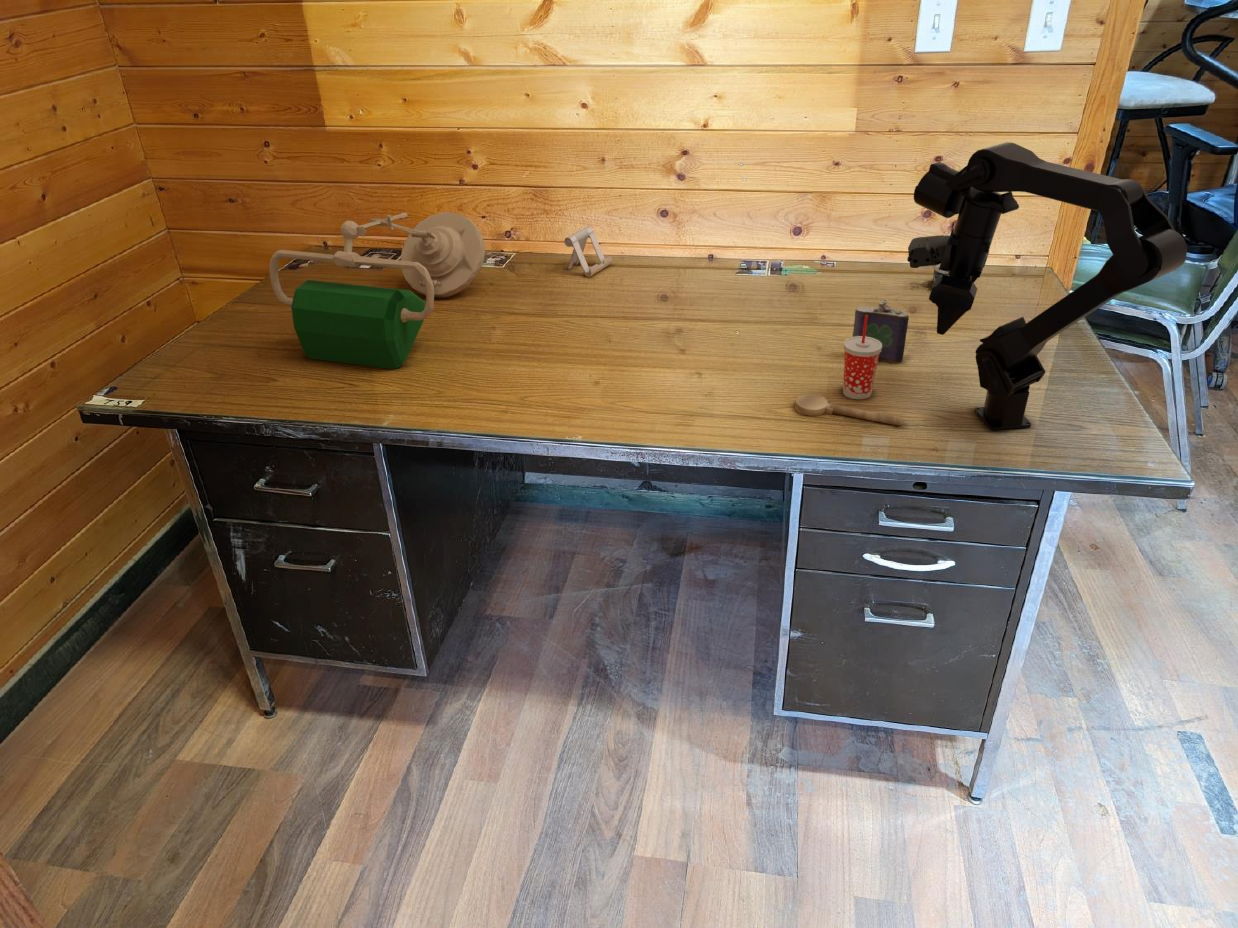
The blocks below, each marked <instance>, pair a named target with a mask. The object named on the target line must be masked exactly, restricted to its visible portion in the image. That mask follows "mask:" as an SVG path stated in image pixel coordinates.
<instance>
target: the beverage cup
mask: <svg viewBox="0 0 1238 928" xmlns="http://www.w3.org/2000/svg"><path fill="white" fill-rule="evenodd" d="M867 320H868V315H865V319H864V327H863V336H856V337H852V336H851V337H848V338H846V339H845V340H843V350H844V361H843V362H844V364H843V382H842V383H843V384H842V385H843V386H842V393H843V395H844V396H845V397H847V398H848V399H853V400H866V399H869V398H870V397H871V396H872V391H873V386H874V382H875V378H876V372H877V367H878V362H879V359H878V358H879V353H880V352H881V349H882V343H881V342H880V341H879V340H877V339H874V338H871V337H866V328H867Z"/></svg>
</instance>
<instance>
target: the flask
mask: <svg viewBox="0 0 1238 928" xmlns="http://www.w3.org/2000/svg"><path fill="white" fill-rule="evenodd" d="M888 302H889V300H888V299H883V300H882V299H881V300H880V302H878V303H877V305H878V307H871V306H858V307H856V308H855V311H854V321H853V330H852V336H851V337H856V336H863V327H864V319H865V315H868V320H867V328H866V337H871V338H874V339H877V340H879V341H880V342H881V343H882V349H881V352H880V353H879V358H878V361H881V362H887V363H894V364H900V363H902V362H903V359H904V354H905V348H906V340H907V332H908V328H909V320H910V319H909V313H908V312H906V311H902V310H901V309H898V308H896V309H893V308H891V306H889V305H887V303H888Z"/></svg>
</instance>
